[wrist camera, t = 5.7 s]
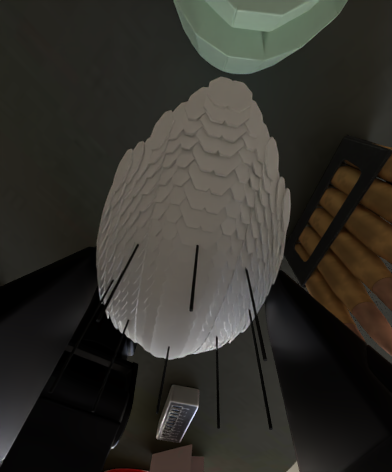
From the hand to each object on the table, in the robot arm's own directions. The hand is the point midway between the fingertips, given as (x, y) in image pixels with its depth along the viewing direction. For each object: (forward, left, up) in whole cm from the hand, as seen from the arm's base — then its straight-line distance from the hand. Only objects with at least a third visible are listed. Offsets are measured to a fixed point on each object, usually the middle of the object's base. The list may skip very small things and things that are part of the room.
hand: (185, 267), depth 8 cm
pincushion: (0, 0, -1) cm, 1 cm away
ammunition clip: (+10, -1, -12) cm, 16 cm away
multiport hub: (0, -40, -12) cm, 41 cm away
